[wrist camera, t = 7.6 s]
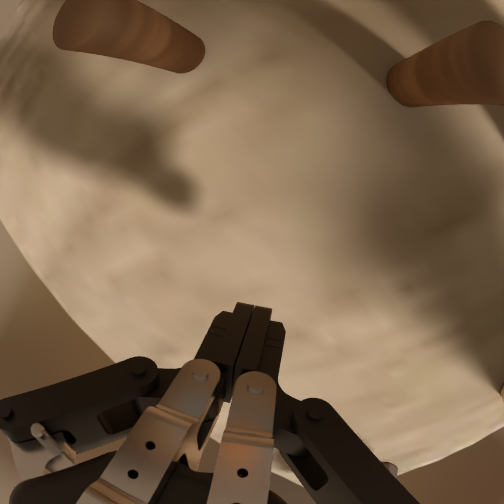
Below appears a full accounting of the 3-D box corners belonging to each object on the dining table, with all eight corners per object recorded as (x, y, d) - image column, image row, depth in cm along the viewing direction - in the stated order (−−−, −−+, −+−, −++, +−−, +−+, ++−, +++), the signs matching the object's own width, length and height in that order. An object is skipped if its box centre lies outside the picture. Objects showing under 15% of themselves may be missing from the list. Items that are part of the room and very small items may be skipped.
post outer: (207, 33, 12) (117, -27, 4) (202, 73, 14) (101, 40, 6) (166, 36, 13) (61, -5, 5) (161, 74, 14) (47, 57, 6)
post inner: (430, 72, 11) (530, 47, 3) (425, 112, 12) (530, 119, 4) (388, 57, 11) (468, 5, 3) (384, 99, 12) (469, 82, 4)
